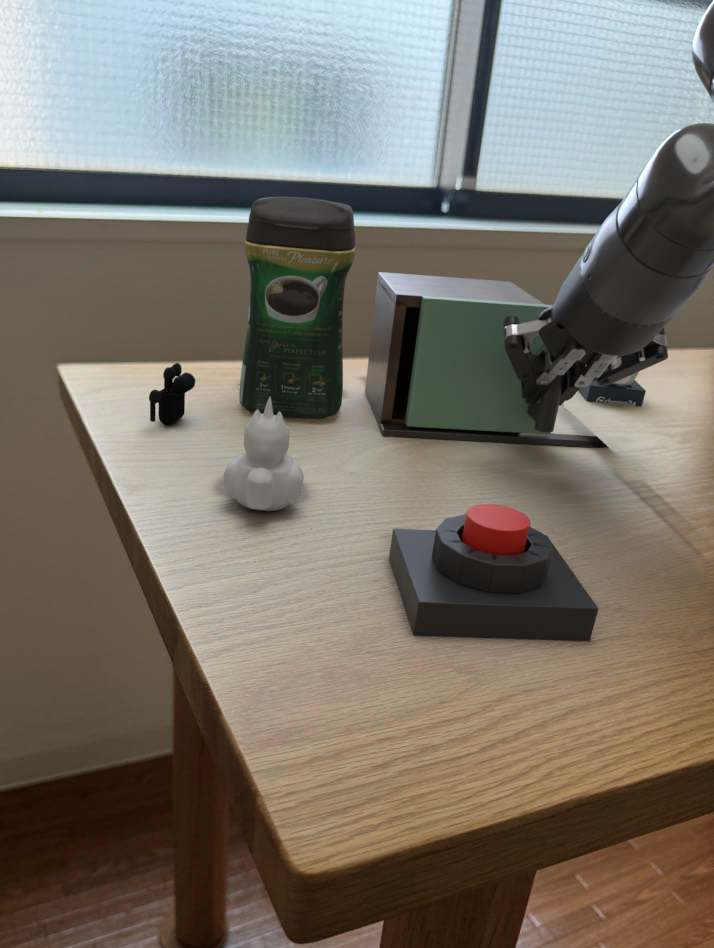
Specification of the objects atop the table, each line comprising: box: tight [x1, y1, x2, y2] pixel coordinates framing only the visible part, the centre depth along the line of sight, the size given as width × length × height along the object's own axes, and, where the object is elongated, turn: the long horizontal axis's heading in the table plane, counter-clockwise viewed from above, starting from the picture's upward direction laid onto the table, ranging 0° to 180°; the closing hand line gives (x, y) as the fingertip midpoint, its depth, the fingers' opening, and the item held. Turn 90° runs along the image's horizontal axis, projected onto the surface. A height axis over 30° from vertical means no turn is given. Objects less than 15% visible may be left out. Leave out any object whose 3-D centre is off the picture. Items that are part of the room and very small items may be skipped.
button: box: [462, 503, 531, 556], centre depth 49 cm, size 4×4×2 cm
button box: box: [388, 513, 599, 642], centre depth 50 cm, size 10×9×4 cm
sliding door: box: [405, 296, 566, 434], centre depth 72 cm, size 13×5×11 cm, turn 94°
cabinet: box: [364, 271, 610, 449], centre depth 79 cm, size 22×13×12 cm, turn 94°
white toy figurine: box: [223, 397, 305, 512], centre depth 58 cm, size 5×7×8 cm
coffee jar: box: [238, 196, 357, 421], centre depth 76 cm, size 10×8×19 cm
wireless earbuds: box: [148, 362, 196, 426], centre depth 73 cm, size 7×2×5 cm, turn 162°
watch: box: [577, 357, 647, 408], centre depth 85 cm, size 6×8×11 cm
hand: (542, 395), depth 73 cm, fingers closed on sliding door
